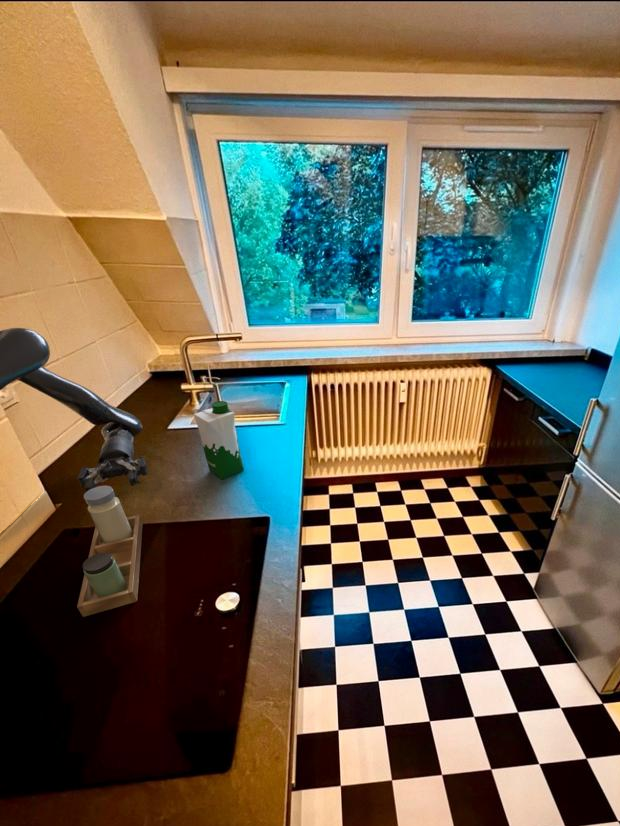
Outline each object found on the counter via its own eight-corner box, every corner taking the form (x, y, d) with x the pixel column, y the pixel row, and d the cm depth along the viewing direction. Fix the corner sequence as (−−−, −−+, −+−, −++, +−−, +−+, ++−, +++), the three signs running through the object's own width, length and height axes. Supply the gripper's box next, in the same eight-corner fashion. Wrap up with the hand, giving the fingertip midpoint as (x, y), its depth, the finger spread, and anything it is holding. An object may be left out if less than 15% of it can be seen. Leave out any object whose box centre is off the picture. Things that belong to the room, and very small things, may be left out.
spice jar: (104, 606, 71) (87, 575, 67) (93, 592, 74) (76, 562, 70) (132, 589, 74) (117, 559, 70) (120, 577, 77) (106, 547, 73)
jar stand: (84, 618, 70) (76, 607, 68) (101, 535, 89) (95, 524, 87) (138, 603, 72) (132, 591, 71) (143, 525, 92) (139, 514, 90)
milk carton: (248, 470, 113) (236, 405, 102) (220, 482, 107) (204, 415, 96) (232, 459, 118) (219, 397, 107) (204, 471, 112) (187, 406, 101)
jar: (111, 552, 83) (88, 504, 76) (100, 541, 86) (77, 493, 79) (139, 538, 87) (119, 491, 80) (127, 528, 90) (107, 481, 83)
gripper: (80, 447, 98) (68, 479, 85) (142, 437, 102) (140, 466, 90) (92, 472, 102) (82, 506, 89) (151, 461, 106) (149, 492, 94)
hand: (111, 486), depth 89 cm, fingers open, 8 cm apart
